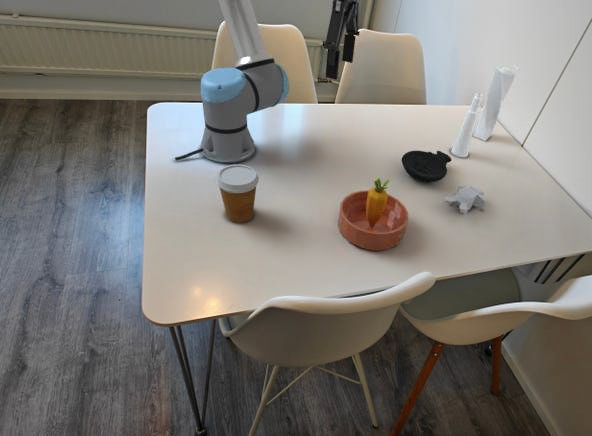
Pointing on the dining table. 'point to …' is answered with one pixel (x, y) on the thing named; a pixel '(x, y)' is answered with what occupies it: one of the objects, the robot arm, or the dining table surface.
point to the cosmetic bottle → (467, 128)
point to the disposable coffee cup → (238, 191)
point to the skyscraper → (494, 101)
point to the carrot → (376, 202)
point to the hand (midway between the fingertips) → (339, 69)
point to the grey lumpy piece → (467, 198)
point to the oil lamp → (426, 165)
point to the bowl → (382, 232)
